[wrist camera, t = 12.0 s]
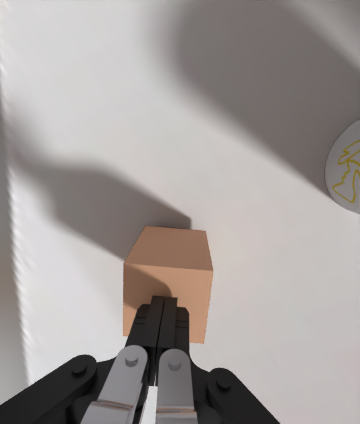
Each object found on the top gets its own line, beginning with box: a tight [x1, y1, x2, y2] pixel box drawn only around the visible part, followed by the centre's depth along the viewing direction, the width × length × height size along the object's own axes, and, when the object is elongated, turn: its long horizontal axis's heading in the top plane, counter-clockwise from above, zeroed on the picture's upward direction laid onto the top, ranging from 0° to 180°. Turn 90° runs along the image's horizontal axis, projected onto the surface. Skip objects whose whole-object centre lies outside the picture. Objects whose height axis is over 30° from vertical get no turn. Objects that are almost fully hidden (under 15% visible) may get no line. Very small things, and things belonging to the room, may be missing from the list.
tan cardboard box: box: [123, 226, 213, 344], centre depth 17 cm, size 5×5×7 cm
